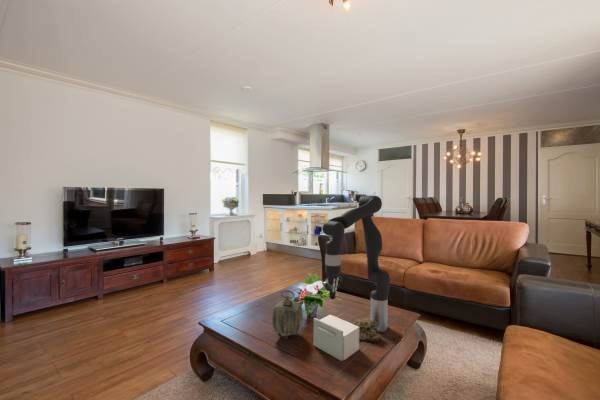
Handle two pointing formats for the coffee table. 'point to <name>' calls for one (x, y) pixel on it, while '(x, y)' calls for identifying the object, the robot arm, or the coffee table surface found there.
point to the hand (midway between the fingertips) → (332, 298)
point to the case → (345, 334)
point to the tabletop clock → (287, 316)
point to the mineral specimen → (367, 329)
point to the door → (328, 338)
